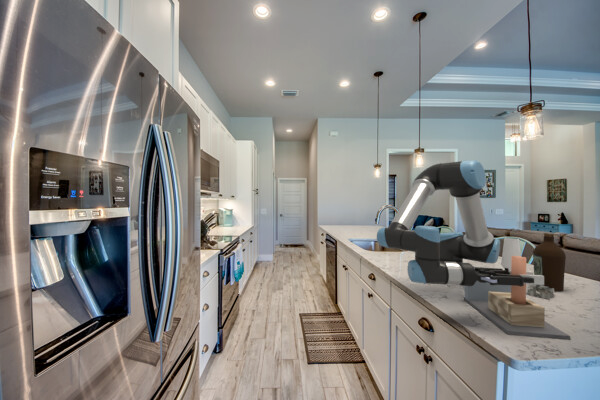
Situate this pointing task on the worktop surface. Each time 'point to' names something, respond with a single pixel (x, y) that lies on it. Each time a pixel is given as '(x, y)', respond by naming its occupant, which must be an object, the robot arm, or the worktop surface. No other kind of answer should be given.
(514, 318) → the socket block
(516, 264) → the dowel
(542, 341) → the worktop surface
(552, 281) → the olive oil
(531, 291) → the egg carton
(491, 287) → the wall
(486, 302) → the mat
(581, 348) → the worktop surface
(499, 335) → the worktop surface
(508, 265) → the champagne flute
